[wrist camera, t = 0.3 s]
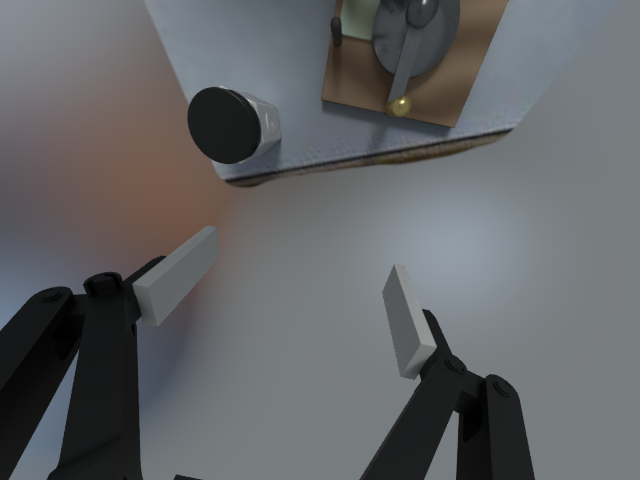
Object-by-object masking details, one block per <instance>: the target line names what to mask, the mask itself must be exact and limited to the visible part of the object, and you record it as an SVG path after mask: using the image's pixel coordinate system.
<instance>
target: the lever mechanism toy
mask: <svg viewBox="0 0 640 480" xmlns="http://www.w3.org/2000/svg"><path fill="white" fill-rule="evenodd" d="M508 1H509V0H460V21H459V26H458V30H457V33H456V36H455V38H454V41H453V43H452V45H451V46H450V48H449V50H448V51H447V53H446V54H445V56H444V57H443V58H442V59H441V60H440V61H439V62H438V63H437V64H436V65H435V66H434V67H433V68H431V69H430V70H428V71H427V72H425V73H423V74H421V75H419V76H416V77H412V78H409V79H408V83H407V86H406V89H405V93H404V96H407V97H408V98H409V99H410V100H411V109H410V111H409V112H408V113H407V114H406V115H404V116H400V117H404V118H409V119H414V120H419V121H423V122H428V123H433V124H437V125H442V126H447V127H454V128H455V126H456V124H457V121H458V119H459V116H460V114H461V112H462V109H463V107H464V105H465V102H466V100H467V98H468V95H469V93H470V90H471V88H472V86H473V83H474V81H475V79H476V76H477V74H478V72H479V69H480V67H481V64H482V62H483V60H484V57H485V55H486V53H487V50H488V48H489V46H490V43H491V41H492V38H493V36H494V34H495V31H496V29H497V27H498V24H499V22H500V20H501V17H502V15H503V12H504V10H505V8H506V5H507V3H508ZM380 2H381V0H337V4H336V10H335V17H334V18H333V19H332V20H331V32H332V35H331V41H330V48H329V54H328V60H327V66H326V73H325V79H324V85H323V91H322V98H321V99H322V100H324V101H329V102H334V103H339V104H343V105H348V106H353V107H357V108H362V109H367V110H371V111H376V112H381V113H385V112H384V108H385V105H386V102H387V98H388V95H389V91H390V88H391V84H392V81H393V77H394V76H393V75H391V74H389V73H388V72H386V71H385V70H384V69H383V68H382V67H381V65H380V64H379V62H378V60H377V58H376V56H375V53H374V49H373V43H372V29H373V23H374V19H375V15H376V12H377V9H378V6H379V4H380Z"/></svg>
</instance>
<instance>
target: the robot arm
mask: <svg viewBox="0 0 640 480" xmlns="http://www.w3.org/2000/svg"><path fill="white" fill-rule="evenodd" d="M218 253H219V251H218V228H217V227H213V226H208V225H207V226H206V227H204V228H203V229H202V230H201V231H199V232H198V233H197V234H196V235H194V236H193V237H192V238H190V239H189V240H188V241H186V242H185V243H184V244H183V245H182V246H180V247H179V248H178V249H176V250H175V251H174V252H172V253H171V254H170V255H169V256H167V257H166V256H160V257H157V258H155V259H153V260H151V261H150V262H148V263H147V264H146V265H145V266H143V267H142V268H140V269H139V270H138V271H136V272H135V273H133V274H132V275H131V276H129V277H128V278H127V279H126V280H124V281H122V278H121V275H120V274H118V273H115V272H105V273H101V274H97V275H94V276H92V277H90V278H88V279H87V280H86V281H85V282H84V284H83V286H84V288H85V291H86V293H87V294H78V295H73V293H72V291H71V290H70V288H68V287H53V288H49V289H45V290H42V291H40V292H39V293H37V294H35V295H33V296H32V297H31V298H30V299H29V300H28V301H27V302H26V303H25V304H24V305H23V306H22V308H21V309H20V310H19V311H18V312H17V313H16V314H15V315H14V316H13V317H12V319H11V320H10V321H9V322H8V323H7V324H6V325H5V326H4V327H3V328H2V330H1V331H0V480H9V478H10V476H11V474H12V472H13V471H14V469H15V467H16V465H17V463H18V461H19V459H20V457H21V456H22V454H23V452H24V450H25V448H26V446H27V445H28V443H29V441H30V439H31V437H32V435H33V433H34V432H35V430H36V428H37V426H38V424H39V422H40V420H41V419H42V417H43V415H44V413H45V411H46V409H47V407H48V406H49V404H50V402H51V400H52V398H53V396H54V394H55V393H56V391H57V389H58V387H59V385H60V383H61V382H62V379H63V378H64V376H65V374H66V372H67V370H68V368H69V367H70V365H71V363H72V361H73V359H74V357H75V356H76V354H77V352H78V350H79V354H78V360H77V365H76V371H75V376H74V382H73V387H72V393H71V398H70V404H69V409H68V415H67V421H66V426H65V432H64V437H63V443H62V448H61V454H60V459H59V463H58V466H57V468H56V469H55V470H53V471H52V472H51V473H50V474H49V476H48V478H47V480H143V478H142V472H141V462H140V428H139V394H138V393H139V392H138V357H137V326H136V321H137V320H138V319H139V318H140V317H142V320H143V323H144V324H146V325H151V326H156V327H158V326H159V325H160V324H161V323H162V322H163V320H164V319H165V318H166V317H167V316H168V315H169V314H170V313H171V311H172V310H173V309H174V308H175V307H176V306H177V305H178V303H180V301H181V300H182V299H183V298H184V297H185V296H186V295H187V294H188V292H189V291H190V290H191V289H192V288H193V287H194V286H195V285H196V283H197V282H198V281H199V280H200V279H201V278H202V277H203V276H204V274H205V273H206V272H207V271H208V270H209V269H210V268H211V267H212V265H213V264H214V263H215V262H216V261H217V260H218V259H219V254H218ZM382 293H383V298H384V302H385V307H386V312H387V316H388V320H389V326H390V330H391V335H392V340H393V344H394V349H395V353H396V358H397V362H398V367H399V372H400V376H401V377H404V378H409V379H413V380H415V379H416V377H417V376H418V374H420V378H421V382H420V384H419V385H418V387H417V388H416V389H415V391H414V393H413V395H412V397H411V398H410V400H409V401H408V403H407V405H406V406H405V408H404V409H403V411H402V413H401V414H400V416H399V418H398V419H397V420H396V422H395V424H394V425H393V427H392V429H391V430H390V432H389V433H388V435H387V436H386V438H385V440H384V441H383V443H382V444H381V446H380V448H379V449H378V451H377V452H376V454H375V456H374V457H373V459H372V461H371V462H370V464H369V465H368V467H367V468H366V470H365V471H364V473H363V475H362V476H361V478H360V480H424V478H425V476H426V473H427V471H428V469H429V466H430V464H431V462H432V459H433V457H434V455H435V452H436V450H437V448H438V445H439V443H440V440H441V438H442V436H443V433H444V431H445V429H446V426H447V424H448V422H449V419H450V417H451V414H452V412H453V410H454V411H456V412H457V413H459V426H458V449H457V472H456V480H535V478H534V472H533V467H532V461H531V456H530V451H529V446H528V441H527V436H526V430H525V425H524V420H523V415H522V409H521V404H520V399H519V396H518V394H517V392H516V391H515V389H514V388H513V386H511V385H510V384H509V383H508V382H507V381H506V380H504V379H503V378H501V377H499V376H497V375H493V374H492V375H491V374H490V375H488V376H487V377H486V378H485V379H484V378H482V377H480V376H478V375H476V374H474V373H472V372H470V371H468V370H467V368H466V366H465V365H464V363H463V362H462V361H461V360H460V359H459V358H458V357H456V356H454V355H452V353H451V350H450V348H449V346H448V344H447V342H446V339H445V338H444V335H443V333H442V331H441V328H440V327H439V324H438V322H437V320H436V318H435V316H434V315H433V314H432V313H431V312H430V311H429V310H425V309H421V306H420V304H419V301H418V299H417V296H416V294H415V291H414V289H413V287H412V284H411V281H410V279H409V277H408V274H407V271H406V269H405V267H404V266H400V265H396V264H394V266H393V268H392V270H391V273H390V275H389V278H388V280H387V282H386V285H385V287H384V290H383V292H382ZM79 348H80V349H79ZM174 480H201V479H195V478H191V477H185V476H181V475H176V476H175V478H174Z"/></svg>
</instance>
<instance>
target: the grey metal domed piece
mask: <svg viewBox="0 0 640 480" xmlns="http://www.w3.org/2000/svg"><path fill="white" fill-rule="evenodd" d="M459 21H460V0H381V2H380V4H379V6H378V9H377V12H376V15H375V19H374V23H373V29H372V43H373V49H374V53H375V56H376V58H377V60H378V62H379V64H380V65H381V67H382V68H383V69H384V70H385V71H386V72H388V73H389V74H391V75H393V76H394V77H393V81H392V84H391V88H390V91H389V95H388V98H387V102H386V105H385V108H384V112H385V114H386V116H388V117H399V116H404V115H406V114H407V113H408V112H409V111H410V109H411V100H410V99H409V98H408V97H407V96H404V93H405V89H406V86H407V83H408V79H409V78H412V77H416V76H419V75H421V74H423V73H425V72H427V71H428V70H430V69H431V68H433V67H434V66H435V65H436V64H437V63H438V62H439V61H440V60H441V59H442V58H443V57H444V56H445V54H446V53H447V51H448V50H449V48H450V46H451V45H452V43H453V41H454V38H455V36H456V33H457V30H458V26H459Z"/></svg>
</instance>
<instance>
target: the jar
mask: <svg viewBox="0 0 640 480" xmlns="http://www.w3.org/2000/svg"><path fill="white" fill-rule="evenodd" d="M188 126H189V130H190V134H191V136H192V138H193V140H194V142H195V144H196V145H197V146H198V148H199V149H200V150H201V151H202V152H203V153H204V154H205V155H206V156H207V157H209V158H210V159H212V160H214V161H216V162H219V163H223V164H234V163H239V164H242V163H245V162H247V161H249V160H252V159H254V158H256V157H259V156H261V155H263V154H264V153H265V152H266V151H268V150H269V149H270V148H271V147H272V146H273V145H274V144H276V143H277V142H278V141H279V140H280V139H281V134H280V128H279V122H278V117H277V111H276V107H275V106H273V105H271V104H269V103H267V102H265V101H263V100H261V99H259V98H257V97H255V96H253V95H250V94H248V93H244V92H241V91H237V90H234V89H230V88H227V87H223V86H219V87H210V88H206V89H203V90H201V91H200V92H198V93H197V94H196V95H195V96H194V98H193V99H192V101H191V103H190V105H189V109H188Z"/></svg>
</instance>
